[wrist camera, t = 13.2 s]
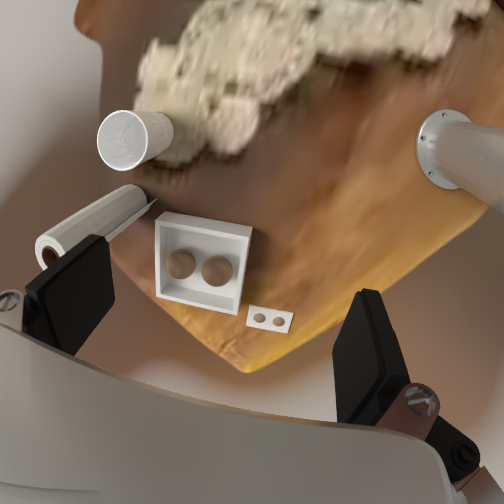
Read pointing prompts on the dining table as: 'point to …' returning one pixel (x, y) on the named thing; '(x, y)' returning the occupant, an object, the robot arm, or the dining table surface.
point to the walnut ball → (180, 264)
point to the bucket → (500, 3)
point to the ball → (216, 271)
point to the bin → (201, 259)
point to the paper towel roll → (93, 223)
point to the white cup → (133, 137)
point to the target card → (269, 318)
